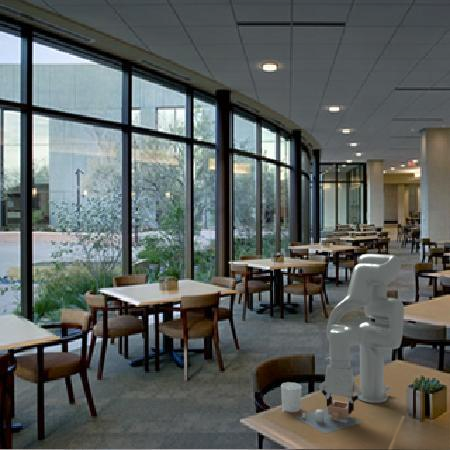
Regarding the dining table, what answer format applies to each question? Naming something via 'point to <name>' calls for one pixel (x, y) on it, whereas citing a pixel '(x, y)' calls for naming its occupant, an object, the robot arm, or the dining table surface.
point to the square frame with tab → (338, 409)
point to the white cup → (291, 397)
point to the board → (326, 421)
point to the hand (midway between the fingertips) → (340, 410)
